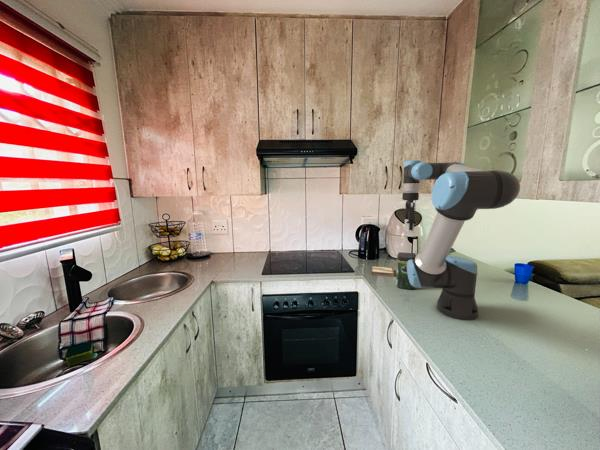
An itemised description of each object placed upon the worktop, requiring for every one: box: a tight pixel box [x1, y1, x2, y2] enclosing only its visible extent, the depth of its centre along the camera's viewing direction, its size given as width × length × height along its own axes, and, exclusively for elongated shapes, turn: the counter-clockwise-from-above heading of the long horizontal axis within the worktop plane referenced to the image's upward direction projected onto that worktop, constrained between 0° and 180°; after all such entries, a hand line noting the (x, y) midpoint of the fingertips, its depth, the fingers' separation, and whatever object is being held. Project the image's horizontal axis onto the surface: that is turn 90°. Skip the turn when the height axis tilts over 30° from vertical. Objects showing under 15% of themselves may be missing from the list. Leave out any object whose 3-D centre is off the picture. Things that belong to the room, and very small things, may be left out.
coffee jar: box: [395, 252, 417, 290], centre depth 132 cm, size 10×8×19 cm
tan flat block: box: [370, 265, 395, 278], centre depth 155 cm, size 11×13×2 cm
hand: (408, 233), depth 129 cm, fingers open, 13 cm apart
